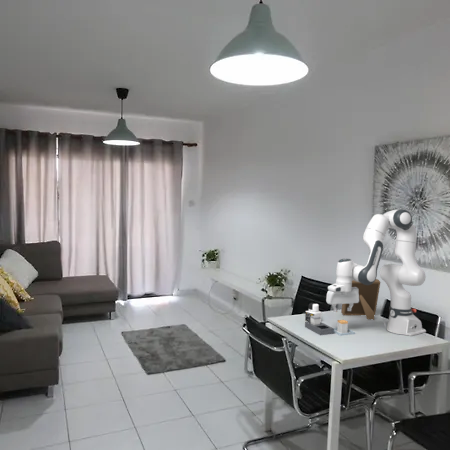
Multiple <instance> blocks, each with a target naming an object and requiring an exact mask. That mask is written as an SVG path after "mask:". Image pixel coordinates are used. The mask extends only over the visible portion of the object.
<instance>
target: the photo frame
mask: <svg viewBox="0 0 450 450" xmlns="http://www.w3.org/2000/svg"><path fill="white" fill-rule="evenodd" d="M352 287H357V288H358V289H359V292H358V293H359V302H358V303H353V306H352V308H351V311H347V308H348V307H349V305H350V304H341V312H340V313H341V314H342V315H343V316H361V315H366V316H365V317H366V319H367V320H371V319H373V321H375V316H376V313H377V307H378V306H377V305H378V300H379V292H380V287H381V281H380V280H379V279H378V278H376V280H375V281H374V283H372V284H371V285H364V284H362V283H360V282H356V281H354V280H352ZM374 315H375V316H374Z"/></svg>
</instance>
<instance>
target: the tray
mask: <svg viewBox="0 0 450 450" xmlns="http://www.w3.org/2000/svg"><path fill="white" fill-rule="evenodd" d="M333 328H334V334H336V335H338V336H340V337H341V336H350V335H356V332H355V331H353V330H351V329H349V328H348V330H347V333H339V332H337V327H333Z"/></svg>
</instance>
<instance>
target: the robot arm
mask: <svg viewBox="0 0 450 450" xmlns="http://www.w3.org/2000/svg"><path fill="white" fill-rule="evenodd" d="M391 229H392V230H395V231H396V237H395V245H394V254H395V256H396V257H397V258H398V259H399V260H401V262H402V265H401V264H394V263H391V264H389V263H388V264H387V263H385V264H383V265H382V266H381V268H380V269H379V265H380V262H381V259H382V255H383V251H384V244H383V242H384V238H385V236H386V233H387V231H388V230H391ZM362 239H363V243H364V244H365V245H366V246H367V247H368V248H369V251H370V253H369V256H368V259H367V263H366V264H365V265H361V264H358V263H356V262H354V260H352V259H351V258H340V259H339V260H338V261H337V264H336V268H335V269H336V271H335V276H336V279H335V283H333V284H331V285H328V286H327V290H328V291H327V293H326V299H325V301H326V303H327V304H328V305H330V306H331V307H332V309H333V310H332V311H333V312H334V313H337V312H338V308H337V305H342V304H350V305H349V307H348V308H347V311H351V308H352V306H353V303H358V302H359V293H358V292H359V289H358V288H357V287H352V280H354V281H356V282H360V283H362V284H364V285H371V284H372V283H374V281H375V280H376V279H377V276H378V269H379V276H380V278H381V280H382V281H383V282H385V284H386V286H387V288H388V291H389V293H390V306H389V315H388V322H387V327H386V331H388V332H390V333H392V334H397V335H405V336H410V337H411V336H416V335H420V334H424V333H426V332H427V330H426V329H425V328H423V325H422V324H423V323H422V321H421V320H420V319H419V318H418V317H417V316H416V315H414V313H417V309H416V308H412V296H411V294H410V292H409V291H408V290H406V289H405V288H404V286H411V287H417V286H418V287H419V286H422V285H424V283H425V282H426V277H427V276H426V273H425V271H424V269H422V268H421V266H420V265H419V264H418V262H417V259H416V247H417V229H416V226H415V225H414V224H413V216H412V214H411V212H410V211H408V210H406V209H403V208H401V209H392V210H387V211H385V212H383V213H382V214H381V213H377V214H374V215H373V216H372V217H371V219H369V221H368V224H367V226H366V227H365V230H364V232H363V237H362Z"/></svg>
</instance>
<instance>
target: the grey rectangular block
mask: <svg viewBox="0 0 450 450" xmlns="http://www.w3.org/2000/svg"><path fill="white" fill-rule="evenodd" d="M320 318H321V319H322V316H321V317H319V316H317V315H315V316H311V324H313V325H318V324H320Z"/></svg>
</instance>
